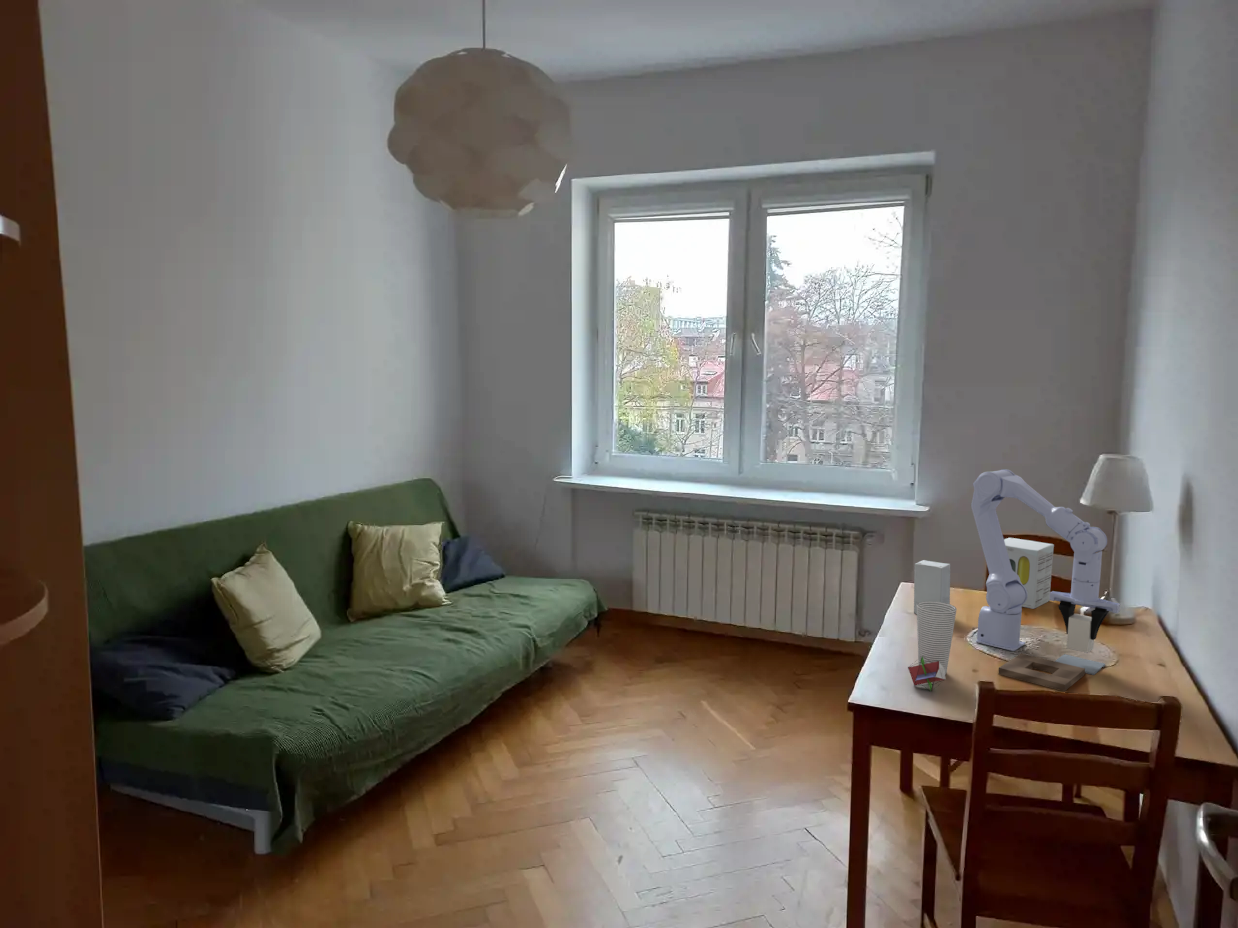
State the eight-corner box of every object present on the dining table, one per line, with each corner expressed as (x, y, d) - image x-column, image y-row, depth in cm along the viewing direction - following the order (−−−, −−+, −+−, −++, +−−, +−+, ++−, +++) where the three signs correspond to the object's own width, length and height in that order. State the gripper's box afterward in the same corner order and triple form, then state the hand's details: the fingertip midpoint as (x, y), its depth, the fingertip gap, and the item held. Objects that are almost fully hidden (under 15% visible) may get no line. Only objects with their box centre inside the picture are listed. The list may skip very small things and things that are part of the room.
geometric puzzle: (899, 679, 183) (924, 654, 180) (902, 668, 189) (926, 644, 187) (926, 702, 181) (952, 678, 179) (928, 691, 188) (953, 667, 185)
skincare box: (949, 615, 237) (953, 564, 235) (939, 620, 233) (943, 567, 231) (921, 609, 243) (924, 558, 241) (911, 613, 239) (914, 561, 237)
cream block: (1066, 648, 199) (1068, 617, 198) (1072, 643, 202) (1075, 613, 201) (1087, 653, 196) (1090, 621, 195) (1093, 648, 199) (1095, 617, 198)
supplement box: (987, 599, 254) (991, 542, 252) (1005, 591, 263) (1009, 536, 261) (1034, 609, 244) (1038, 550, 242) (1050, 600, 254) (1054, 543, 252)
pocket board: (998, 673, 193) (998, 667, 193) (1020, 659, 203) (1021, 653, 203) (1064, 691, 183) (1065, 684, 183) (1084, 674, 193) (1085, 668, 193)
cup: (931, 681, 188) (935, 613, 186) (904, 668, 196) (908, 603, 194) (960, 675, 191) (965, 609, 190) (933, 663, 199) (937, 599, 197)
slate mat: (1051, 664, 200) (1051, 662, 200) (1064, 655, 206) (1064, 653, 206) (1093, 674, 193) (1093, 673, 193) (1105, 665, 200) (1105, 663, 200)
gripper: (1046, 576, 199) (1042, 632, 201) (1115, 588, 189) (1110, 647, 191) (1056, 571, 204) (1052, 626, 206) (1124, 583, 194) (1119, 640, 196)
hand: (1081, 635), depth 199 cm, fingers closed on cream block, 4 cm apart
